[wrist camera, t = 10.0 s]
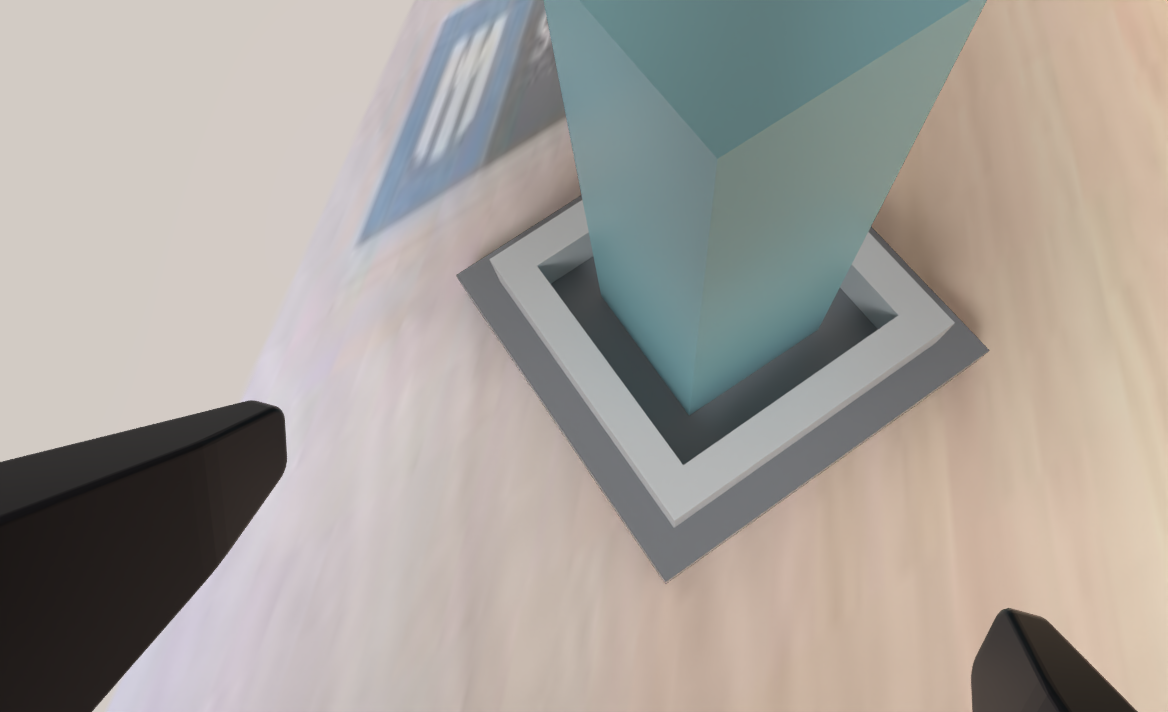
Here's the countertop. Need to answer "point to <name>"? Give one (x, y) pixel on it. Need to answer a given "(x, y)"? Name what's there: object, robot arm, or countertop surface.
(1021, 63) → the countertop surface
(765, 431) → the seat plate
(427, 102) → the countertop surface
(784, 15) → the block
